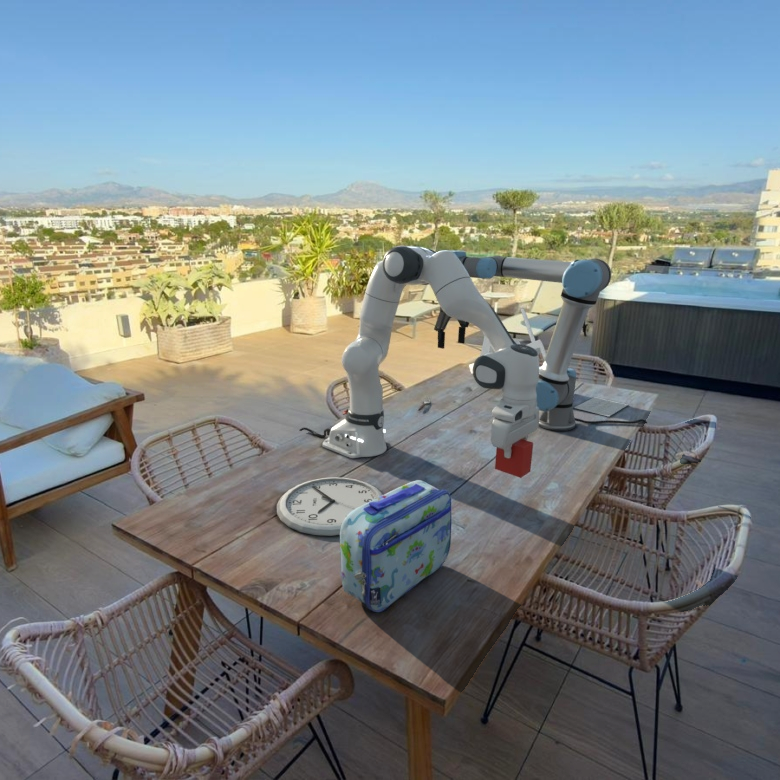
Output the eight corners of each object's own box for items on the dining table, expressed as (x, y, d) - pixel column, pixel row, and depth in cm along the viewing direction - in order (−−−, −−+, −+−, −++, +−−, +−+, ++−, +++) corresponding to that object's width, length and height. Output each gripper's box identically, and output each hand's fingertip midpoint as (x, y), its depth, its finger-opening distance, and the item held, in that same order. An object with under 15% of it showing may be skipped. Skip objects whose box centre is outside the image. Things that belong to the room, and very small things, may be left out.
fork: (415, 411, 216) (415, 406, 216) (426, 400, 231) (426, 395, 230) (421, 412, 216) (421, 407, 215) (432, 400, 230) (432, 396, 229)
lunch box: (369, 626, 100) (370, 530, 93) (334, 598, 107) (332, 507, 101) (455, 567, 117) (460, 483, 111) (419, 547, 124) (423, 467, 118)
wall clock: (392, 527, 129) (268, 531, 127) (391, 533, 130) (269, 537, 127) (383, 473, 158) (282, 475, 155) (383, 478, 158) (282, 480, 156)
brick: (504, 462, 150) (507, 434, 147) (530, 471, 145) (533, 442, 142) (494, 468, 146) (497, 440, 143) (520, 478, 141) (523, 448, 138)
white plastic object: (490, 421, 263) (470, 398, 238) (471, 347, 285) (451, 320, 260) (562, 397, 251) (549, 370, 226) (536, 322, 273) (522, 290, 248)
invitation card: (608, 416, 214) (573, 407, 224) (608, 416, 214) (573, 408, 224) (628, 404, 229) (594, 396, 238) (628, 405, 229) (594, 397, 238)
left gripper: (526, 394, 149) (522, 439, 153) (488, 412, 134) (484, 461, 138) (547, 399, 145) (542, 445, 149) (510, 418, 130) (505, 468, 134)
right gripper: (464, 288, 214) (461, 339, 220) (426, 293, 196) (424, 348, 203) (480, 290, 209) (476, 342, 215) (442, 295, 191) (439, 351, 198)
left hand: (514, 453), depth 144 cm, fingers closed on brick, 5 cm apart
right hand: (451, 345), depth 209 cm, fingers open, 13 cm apart
